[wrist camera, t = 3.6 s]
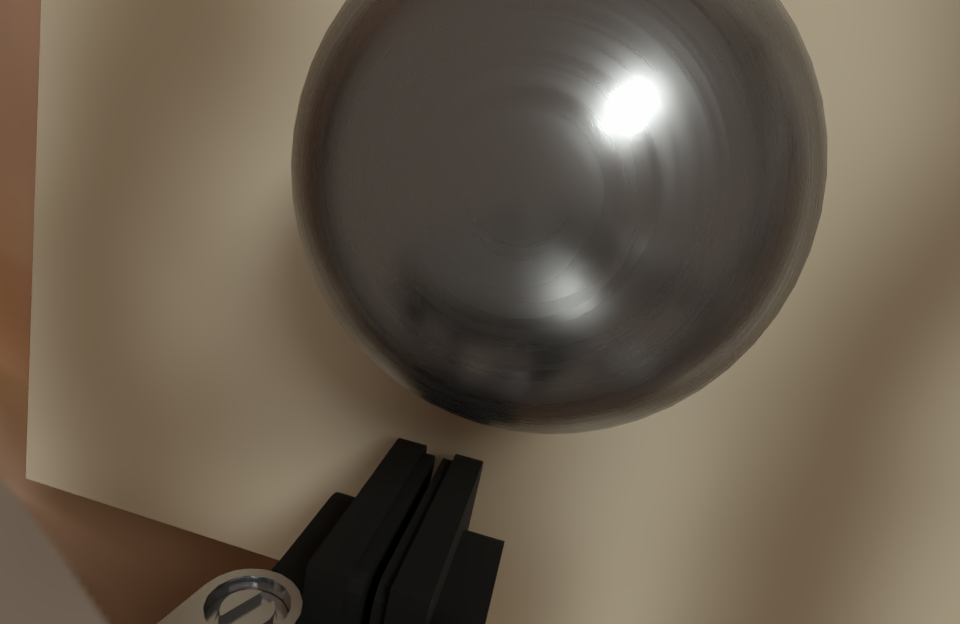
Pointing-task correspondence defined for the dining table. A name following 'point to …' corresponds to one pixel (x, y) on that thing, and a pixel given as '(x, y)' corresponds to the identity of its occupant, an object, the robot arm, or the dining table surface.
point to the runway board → (506, 454)
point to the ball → (558, 196)
